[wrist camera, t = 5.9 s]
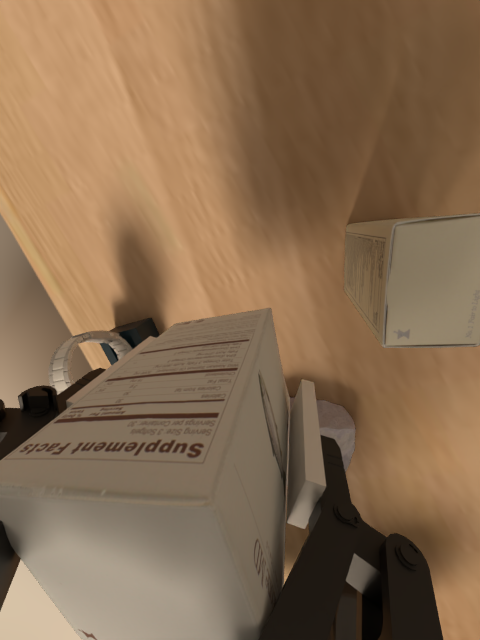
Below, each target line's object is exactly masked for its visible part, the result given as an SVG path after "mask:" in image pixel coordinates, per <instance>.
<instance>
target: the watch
mask: <svg viewBox="0 0 480 640" xmlns="http://www.w3.org/2000/svg"><path fill="white" fill-rule="evenodd" d="M150 336H152V337H155V338H157V337H158V336H160V335H159V333H158V331H157V328H156V326H155V324H154V322H153V320H152V318H148V319H144V320H141V321H137V322H133V323H130V324H126V325H123V326H119V327H116V328H114V329H112V330H110V331H91V332H86V333H83V334H79V335H75V336H72V337H71V339H69V340H67V341H65V342H63V343H62V344H61V346H59V347H58V348H57V349H56V351H55V352H54V354H53V356H52V359H51V362H50V366H49V382H50V385H52V386H51V387H53V388H55V389H56V391H57V395H58V394H60V393H61V392H63V391H64V390H65V389H67V388H68V387H70V386H71V385H72V384H75V383H74V382H73V381H72V380H73V378H72V373H71V371H69V370H71V361H70V360H71V358H72V354H73V350H74V349H75V348H76V346H77V345H78V343H82V342H95V343H100V345H101V347H102V349H103V350H104V352H105V354H106V356H107V358H108V360H109V361H110V363H111V365H113V364H114V363H116V362H117V361H118V360H120V359H121V358H122V357H124V356H125V355H126V354H127V353H129V352H130V351H131V350H133V349H134V348H135V347H137V346H138V345H139V344H140V343H142V342H143V341H144V340H146V339H147V338H148V337H150ZM58 369H59V370H58ZM51 374H52V375H51ZM63 379H65V380H63ZM59 380H60V381H59ZM70 381H71V382H70Z"/></svg>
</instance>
